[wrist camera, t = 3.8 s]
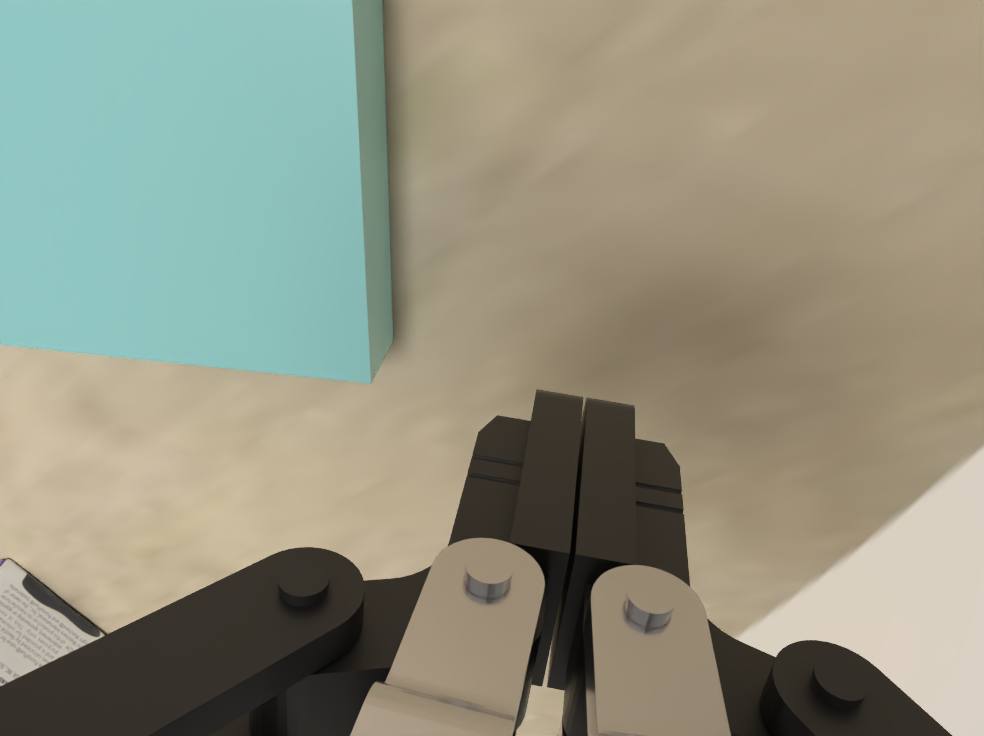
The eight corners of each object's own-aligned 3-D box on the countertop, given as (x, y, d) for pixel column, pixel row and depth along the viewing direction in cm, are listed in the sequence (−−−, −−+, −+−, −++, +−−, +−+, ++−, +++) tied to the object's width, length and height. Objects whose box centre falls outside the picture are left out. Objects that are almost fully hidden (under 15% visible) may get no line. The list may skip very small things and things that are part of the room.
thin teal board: (387, -18, 20) (348, 2, 17) (397, 332, 24) (367, 389, 22) (-244, -51, 22) (-367, -37, 19) (-124, 281, 26) (-210, 328, 24)
